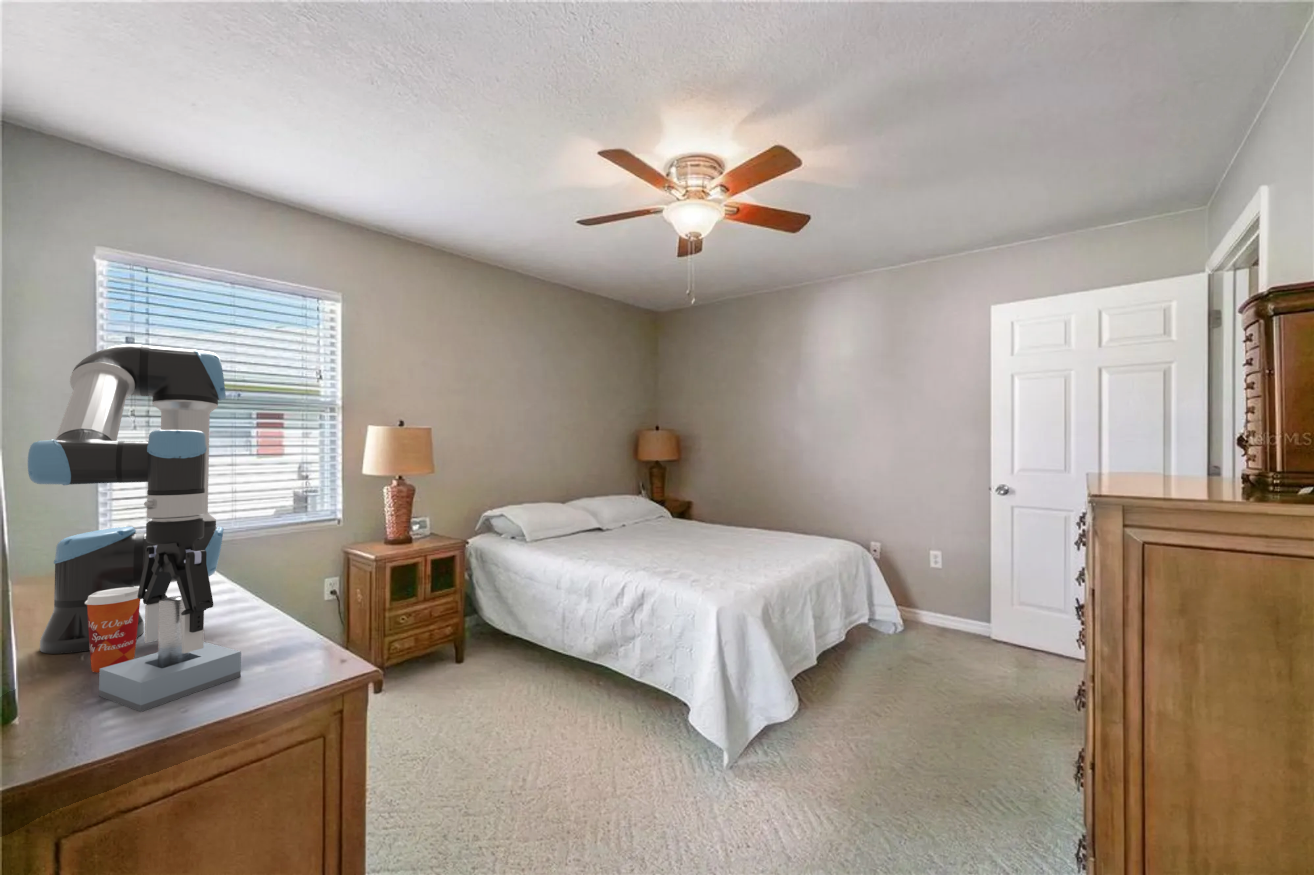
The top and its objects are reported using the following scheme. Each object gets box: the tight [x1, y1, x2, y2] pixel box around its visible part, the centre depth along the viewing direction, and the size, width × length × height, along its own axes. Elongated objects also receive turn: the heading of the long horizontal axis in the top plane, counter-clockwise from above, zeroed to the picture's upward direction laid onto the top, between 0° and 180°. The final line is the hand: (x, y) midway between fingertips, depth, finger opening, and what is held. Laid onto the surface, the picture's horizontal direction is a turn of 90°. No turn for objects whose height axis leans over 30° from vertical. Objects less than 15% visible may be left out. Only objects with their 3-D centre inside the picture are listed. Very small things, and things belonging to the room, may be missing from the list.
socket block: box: [98, 641, 242, 713], centre depth 92 cm, size 13×14×4 cm
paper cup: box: [85, 586, 141, 673], centre depth 100 cm, size 8×8×14 cm
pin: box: [157, 595, 189, 668], centre depth 92 cm, size 4×4×14 cm
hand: (173, 645), depth 92 cm, fingers open, 11 cm apart
